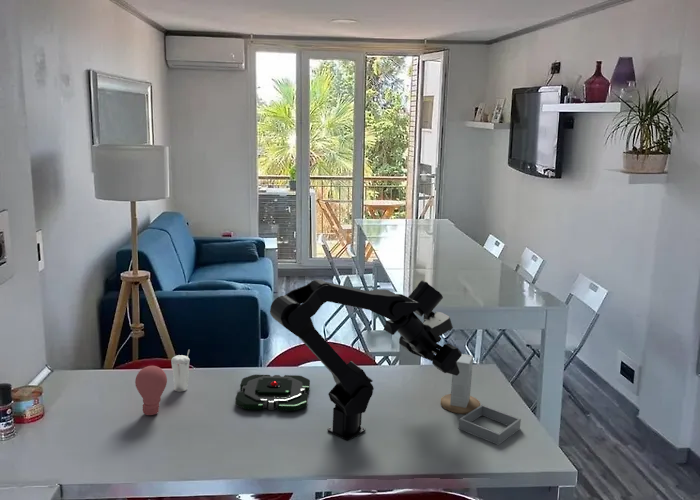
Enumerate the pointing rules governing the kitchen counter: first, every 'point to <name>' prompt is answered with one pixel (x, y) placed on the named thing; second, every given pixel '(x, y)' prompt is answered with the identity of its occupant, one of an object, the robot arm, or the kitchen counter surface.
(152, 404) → the light bulb
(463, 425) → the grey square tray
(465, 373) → the skincare box
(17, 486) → the kitchen counter surface
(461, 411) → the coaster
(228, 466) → the kitchen counter surface
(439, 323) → the robot arm
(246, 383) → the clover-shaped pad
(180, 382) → the milkshake
